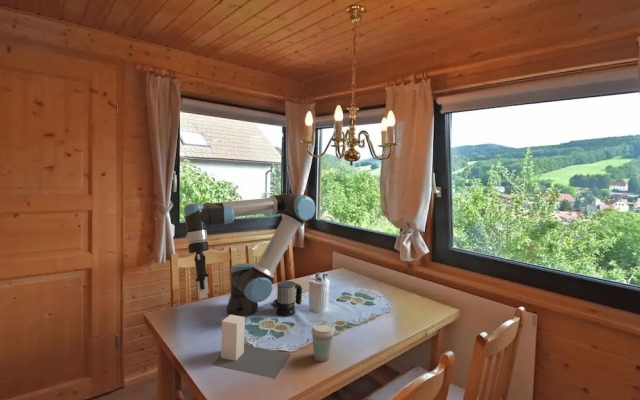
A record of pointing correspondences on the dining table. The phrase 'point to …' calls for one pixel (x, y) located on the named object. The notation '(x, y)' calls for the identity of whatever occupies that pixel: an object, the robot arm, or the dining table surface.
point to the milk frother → (287, 298)
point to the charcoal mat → (256, 361)
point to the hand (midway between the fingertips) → (204, 295)
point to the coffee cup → (322, 341)
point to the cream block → (232, 337)
